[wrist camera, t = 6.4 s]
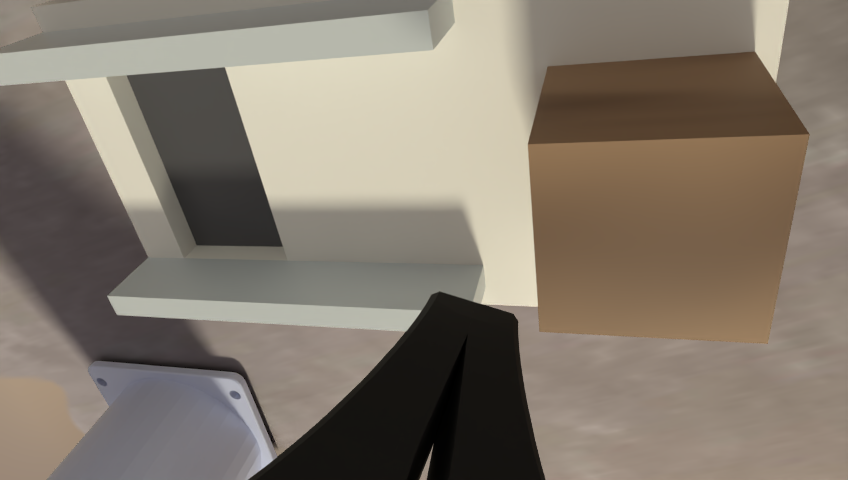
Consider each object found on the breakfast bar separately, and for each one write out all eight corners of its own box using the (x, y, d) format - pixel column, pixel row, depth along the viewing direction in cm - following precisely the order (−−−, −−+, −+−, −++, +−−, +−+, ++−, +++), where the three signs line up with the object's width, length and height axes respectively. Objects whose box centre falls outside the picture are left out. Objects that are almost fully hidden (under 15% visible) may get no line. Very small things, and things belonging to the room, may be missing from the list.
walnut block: (730, 225, 15) (767, 343, 12) (554, 224, 17) (539, 332, 13) (755, 51, 13) (809, 134, 10) (547, 66, 14) (527, 144, 11)
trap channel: (730, 288, 18) (753, 372, 15) (182, 271, 23) (125, 331, 20) (789, -99, 12) (840, -79, 10) (62, -3, 18) (-37, 28, 15)
